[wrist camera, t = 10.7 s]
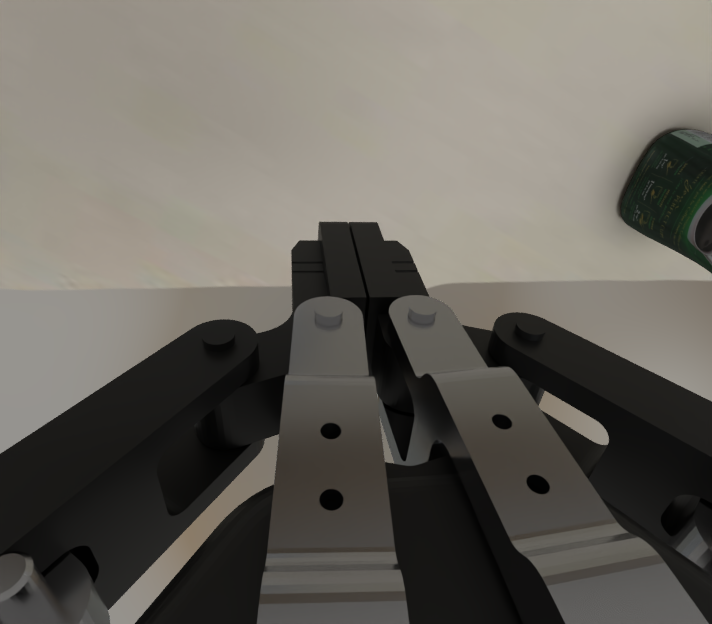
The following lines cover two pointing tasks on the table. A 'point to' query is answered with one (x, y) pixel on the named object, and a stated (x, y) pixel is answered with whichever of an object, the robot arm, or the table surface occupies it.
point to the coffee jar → (675, 195)
